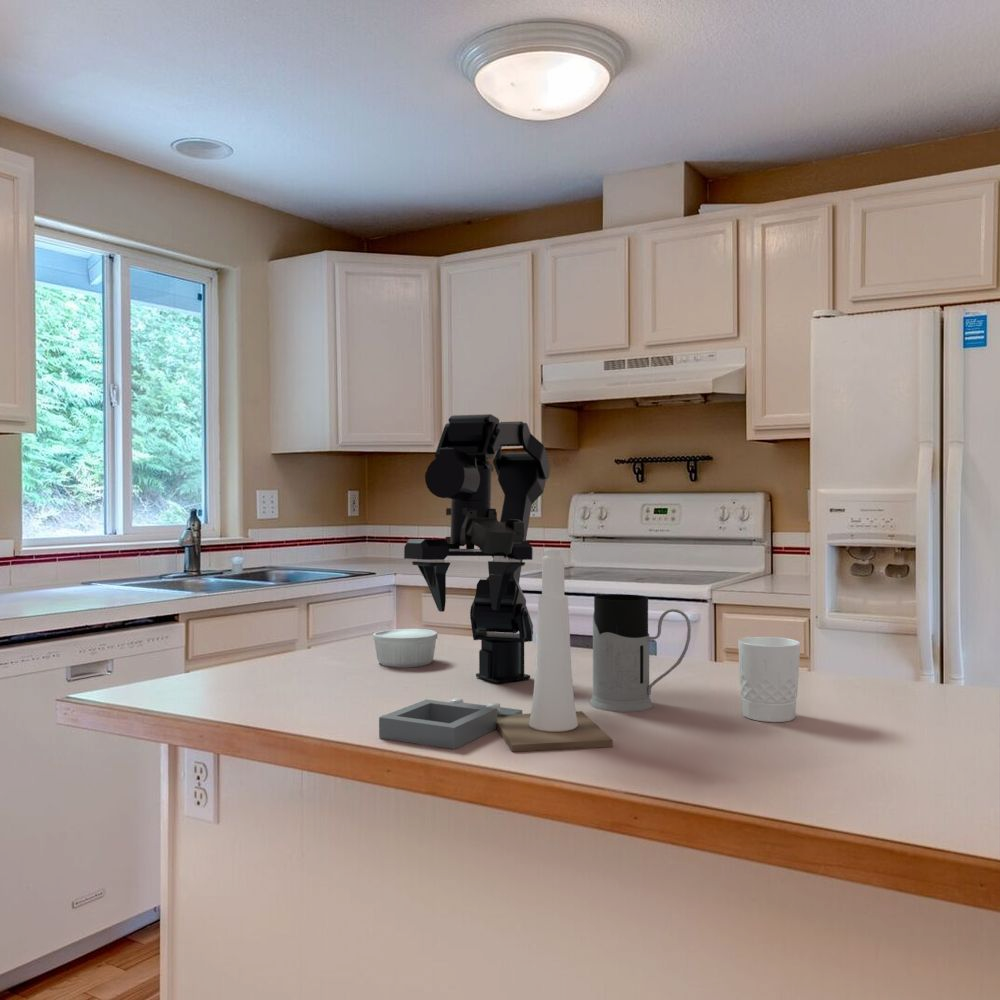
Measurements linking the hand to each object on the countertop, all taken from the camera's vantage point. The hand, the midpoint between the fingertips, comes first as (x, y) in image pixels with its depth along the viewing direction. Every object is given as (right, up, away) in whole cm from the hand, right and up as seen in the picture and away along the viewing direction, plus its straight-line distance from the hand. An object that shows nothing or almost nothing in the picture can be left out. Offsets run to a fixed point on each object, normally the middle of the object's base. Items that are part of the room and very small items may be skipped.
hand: (469, 610), depth 132 cm
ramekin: (-12, -13, +28) cm, 33 cm away
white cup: (+40, -13, -10) cm, 43 cm away
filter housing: (-1, -13, -15) cm, 20 cm away
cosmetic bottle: (+11, -12, -18) cm, 24 cm away
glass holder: (+24, -13, -4) cm, 27 cm away
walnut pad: (+11, -13, -18) cm, 25 cm away
